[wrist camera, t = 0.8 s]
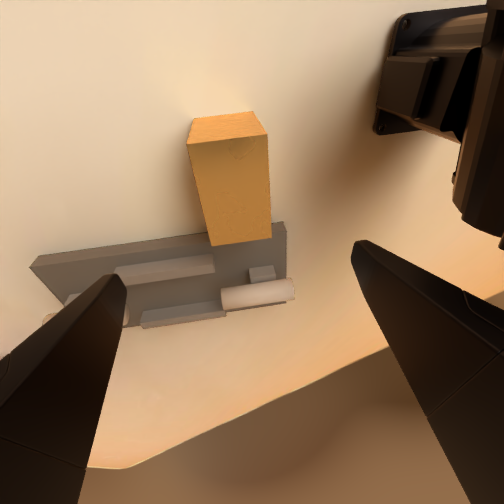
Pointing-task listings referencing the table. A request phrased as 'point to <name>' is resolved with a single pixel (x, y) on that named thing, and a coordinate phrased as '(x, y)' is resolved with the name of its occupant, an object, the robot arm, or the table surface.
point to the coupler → (232, 176)
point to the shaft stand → (176, 276)
